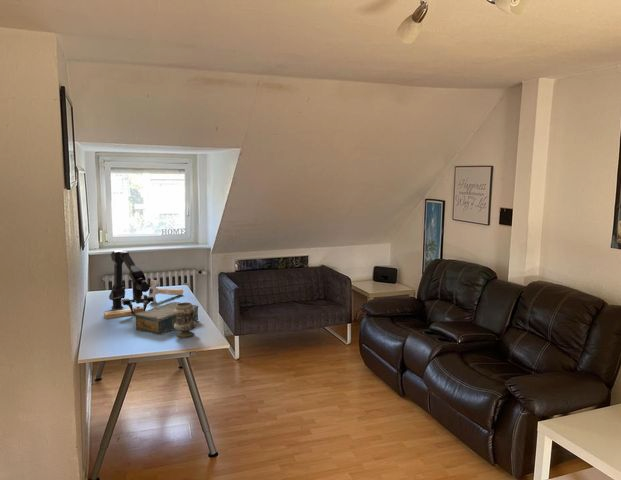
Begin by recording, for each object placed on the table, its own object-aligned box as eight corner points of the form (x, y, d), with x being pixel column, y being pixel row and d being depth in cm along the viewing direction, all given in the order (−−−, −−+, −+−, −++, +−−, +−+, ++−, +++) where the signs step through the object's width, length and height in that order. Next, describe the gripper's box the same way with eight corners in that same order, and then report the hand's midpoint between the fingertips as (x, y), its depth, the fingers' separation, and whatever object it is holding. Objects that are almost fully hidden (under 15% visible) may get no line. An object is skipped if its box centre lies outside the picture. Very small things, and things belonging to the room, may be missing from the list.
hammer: (180, 281, 370) (149, 279, 344) (185, 282, 367) (154, 280, 341) (177, 302, 368) (146, 302, 342) (182, 303, 366) (151, 302, 340)
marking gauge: (132, 313, 318) (131, 304, 317) (140, 312, 320) (139, 303, 320) (135, 316, 310) (135, 308, 309) (143, 315, 312) (143, 306, 312)
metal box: (200, 321, 301) (199, 305, 300) (160, 335, 273) (159, 318, 272) (174, 316, 311) (174, 301, 310) (133, 330, 283) (133, 313, 282)
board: (104, 316, 312) (104, 312, 311) (143, 310, 324) (142, 306, 324) (106, 318, 306) (105, 314, 306) (145, 313, 318) (145, 309, 318)
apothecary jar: (186, 330, 281) (185, 300, 279) (200, 334, 274) (199, 303, 272) (169, 336, 271) (168, 304, 269) (184, 340, 264) (182, 307, 262)
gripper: (124, 293, 299) (125, 318, 301) (155, 290, 309) (156, 314, 311) (121, 290, 309) (122, 314, 311) (151, 287, 319) (152, 310, 321)
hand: (138, 313), depth 313 cm, fingers open, 7 cm apart
